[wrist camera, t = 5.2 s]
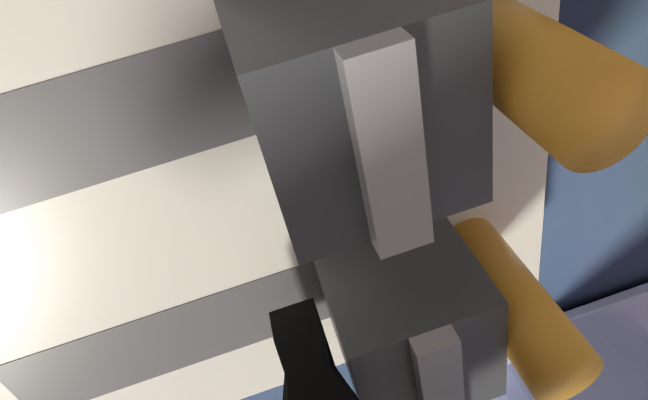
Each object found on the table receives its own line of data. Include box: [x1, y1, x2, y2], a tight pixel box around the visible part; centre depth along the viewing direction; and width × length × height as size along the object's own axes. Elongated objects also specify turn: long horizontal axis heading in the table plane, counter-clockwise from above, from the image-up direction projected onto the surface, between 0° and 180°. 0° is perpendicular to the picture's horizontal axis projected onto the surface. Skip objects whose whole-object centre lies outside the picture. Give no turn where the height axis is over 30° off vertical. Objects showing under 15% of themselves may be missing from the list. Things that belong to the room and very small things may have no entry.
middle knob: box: [213, 0, 493, 266], centre depth 8 cm, size 3×3×3 cm
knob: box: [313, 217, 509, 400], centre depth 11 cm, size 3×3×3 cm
